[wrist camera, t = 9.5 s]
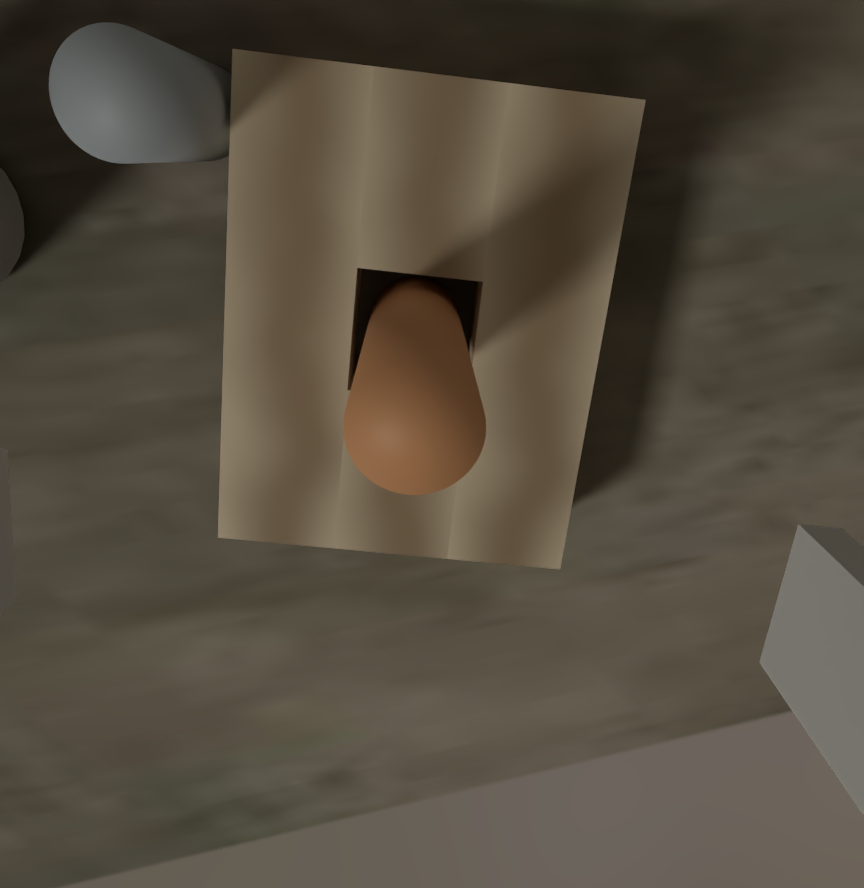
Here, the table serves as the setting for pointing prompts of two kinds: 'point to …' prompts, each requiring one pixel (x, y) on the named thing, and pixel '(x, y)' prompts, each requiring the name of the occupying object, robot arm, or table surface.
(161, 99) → the grey dowel
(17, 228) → the coffee cup
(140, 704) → the table surface
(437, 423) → the tapered brown peg
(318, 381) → the bore block
